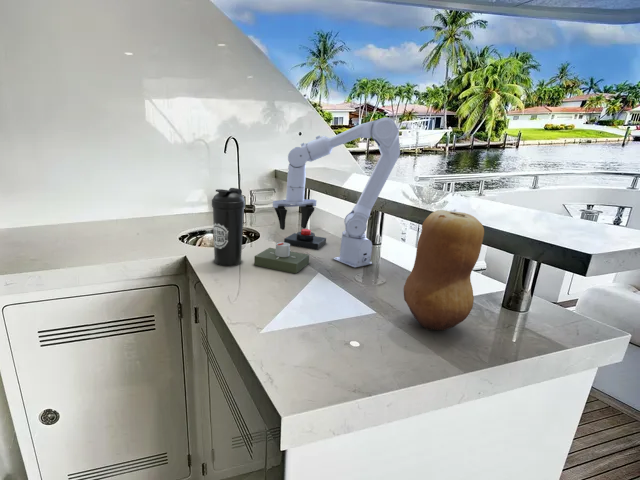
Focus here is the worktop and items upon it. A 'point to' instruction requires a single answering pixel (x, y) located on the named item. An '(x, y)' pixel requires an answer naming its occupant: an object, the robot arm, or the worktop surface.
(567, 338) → the worktop surface
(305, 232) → the button
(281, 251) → the knob
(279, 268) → the dial panel
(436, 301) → the butternut squash
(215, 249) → the water bottle
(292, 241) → the button housing
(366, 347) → the worktop surface
